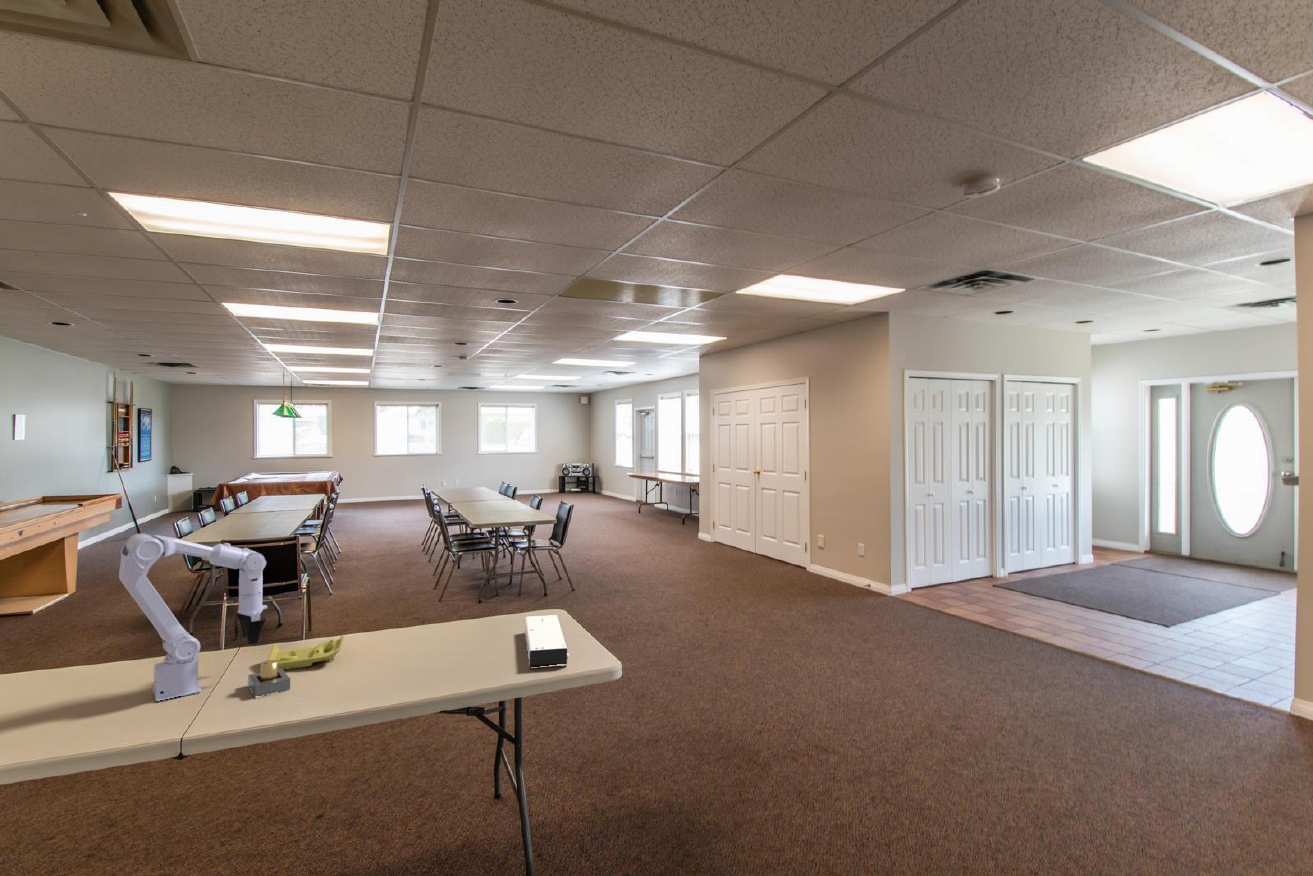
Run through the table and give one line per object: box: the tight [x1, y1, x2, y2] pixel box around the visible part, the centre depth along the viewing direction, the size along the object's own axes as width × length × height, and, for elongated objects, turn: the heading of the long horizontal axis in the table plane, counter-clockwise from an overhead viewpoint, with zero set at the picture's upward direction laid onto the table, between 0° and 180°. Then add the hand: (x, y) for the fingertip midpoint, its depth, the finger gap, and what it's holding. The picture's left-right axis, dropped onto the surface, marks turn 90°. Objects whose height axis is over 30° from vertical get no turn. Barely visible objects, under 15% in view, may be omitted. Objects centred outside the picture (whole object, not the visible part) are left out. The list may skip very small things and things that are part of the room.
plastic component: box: [266, 634, 345, 670], centre depth 187 cm, size 20×7×10 cm
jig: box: [247, 668, 291, 697], centre depth 169 cm, size 8×10×3 cm
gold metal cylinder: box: [259, 660, 278, 682], centre depth 169 cm, size 4×4×7 cm
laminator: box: [524, 614, 570, 668], centre depth 203 cm, size 34×12×6 cm, turn 14°
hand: (250, 640), depth 178 cm, fingers open, 7 cm apart
